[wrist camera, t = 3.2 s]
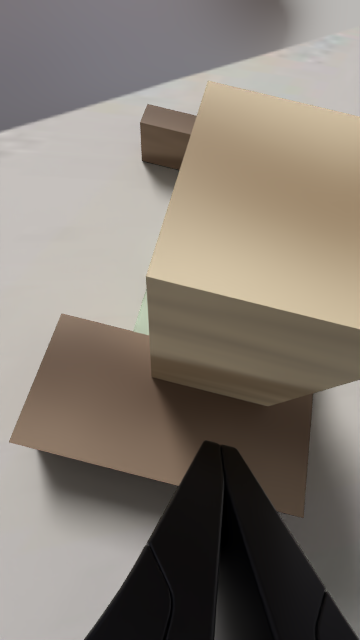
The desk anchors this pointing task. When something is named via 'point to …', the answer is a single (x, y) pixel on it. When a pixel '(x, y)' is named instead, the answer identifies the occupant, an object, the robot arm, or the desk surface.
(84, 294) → the desk surface
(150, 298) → the beech block
